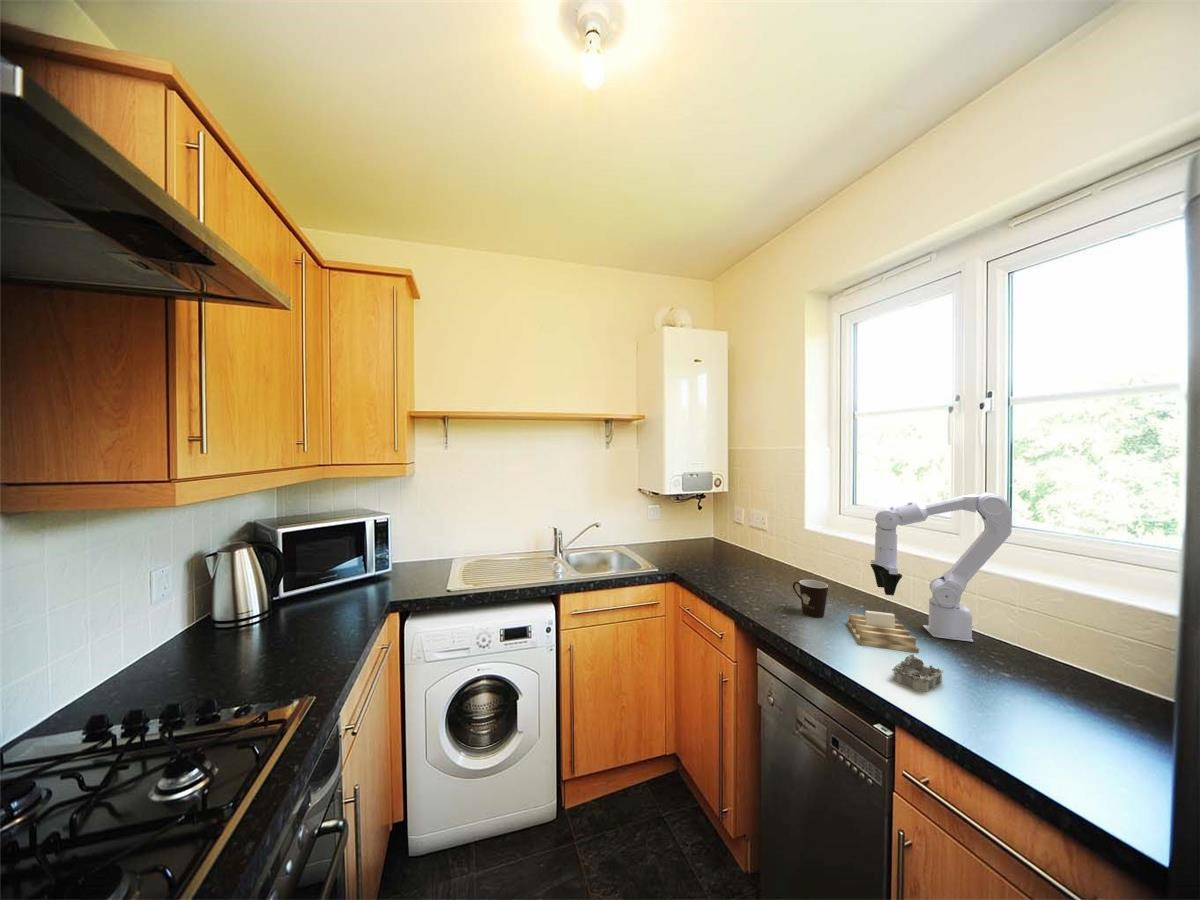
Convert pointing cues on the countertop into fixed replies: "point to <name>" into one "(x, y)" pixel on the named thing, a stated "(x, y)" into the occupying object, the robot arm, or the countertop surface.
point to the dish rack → (881, 635)
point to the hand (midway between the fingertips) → (885, 590)
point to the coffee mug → (812, 597)
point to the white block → (880, 619)
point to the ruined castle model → (917, 674)
